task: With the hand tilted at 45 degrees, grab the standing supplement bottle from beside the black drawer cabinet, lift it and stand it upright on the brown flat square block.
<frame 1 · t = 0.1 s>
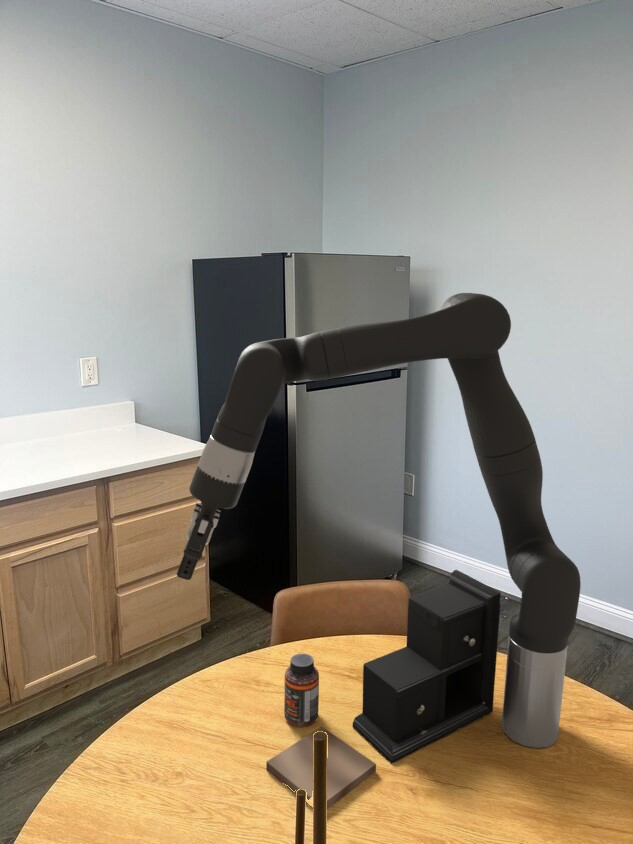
hand: (186, 565, 103), 31 cm above the table, tool tilted 20°, fingers open, 8 cm apart
supplement bottle: (301, 718, 116), on the table
black drawer cabinet: (423, 721, 116), on the table
brown flat square block: (321, 771, 104), on the table
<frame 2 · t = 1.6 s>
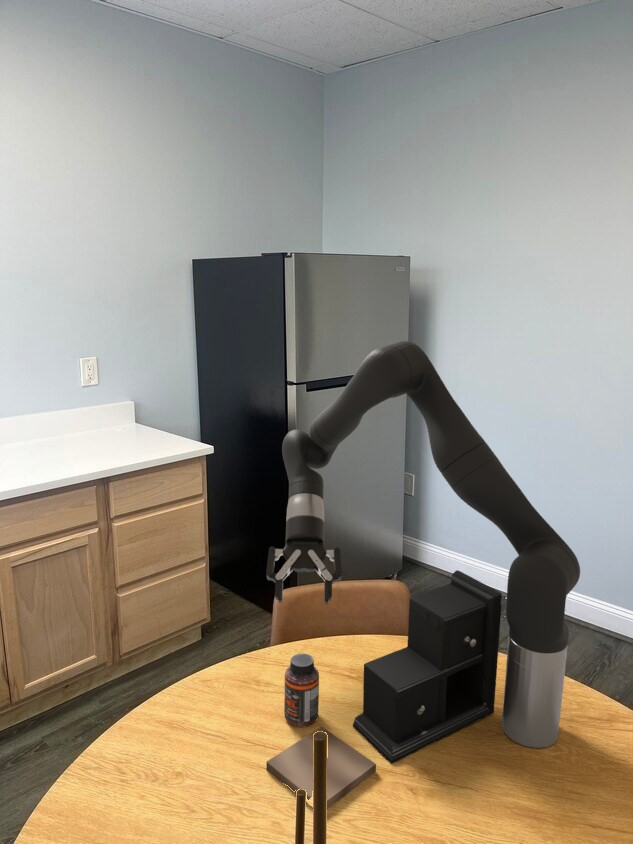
hand: (303, 602, 124), 16 cm above the table, tool tilted 45°, fingers open, 8 cm apart
nothing on the table moved.
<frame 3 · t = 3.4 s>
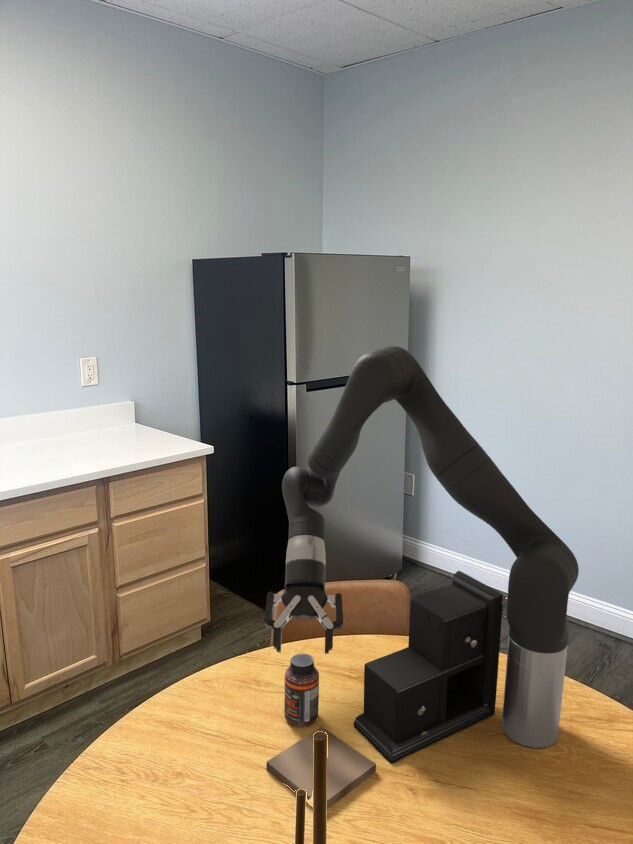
hand: (302, 652, 118), 10 cm above the table, tool tilted 45°, fingers open, 8 cm apart
nothing on the table moved.
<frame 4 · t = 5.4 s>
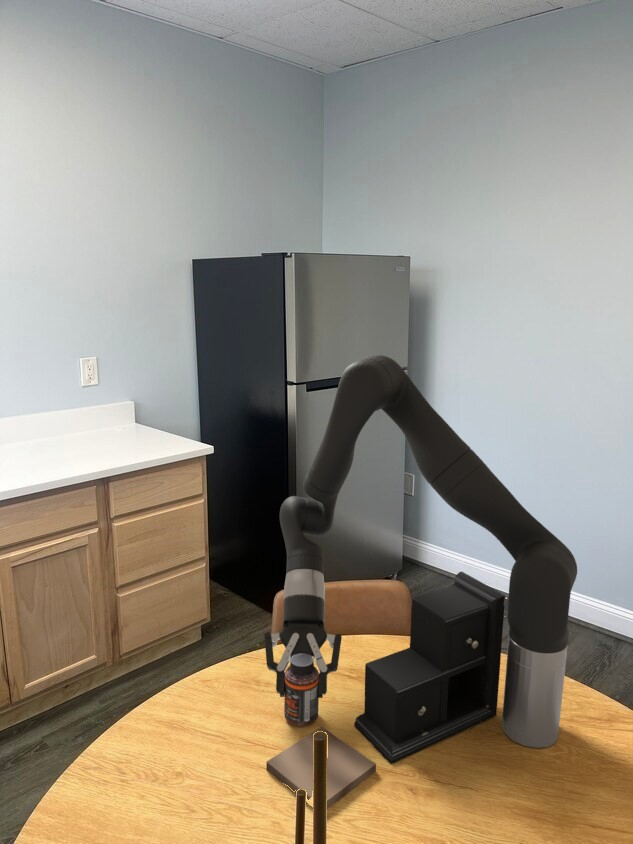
hand: (301, 696, 113), 5 cm above the table, tool tilted 45°, fingers closed on supplement bottle, 6 cm apart
supplement bottle: (301, 718, 116), on the table, touching gripper
everything else where it was.
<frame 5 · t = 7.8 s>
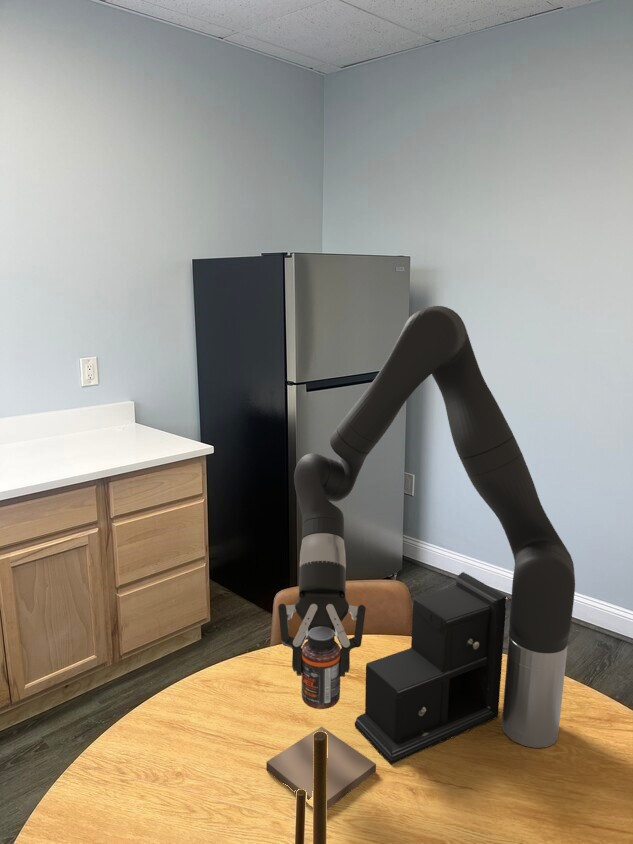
hand: (321, 674, 100), 17 cm above the table, tool tilted 45°, fingers closed on supplement bottle, 6 cm apart
supplement bottle: (320, 700, 103), point 11 cm above the table, touching gripper
everything else where it was.
when the fingers open (8 cm above the table, at t = 10.2 s): supplement bottle drops 1 cm, resting on brown flat square block.
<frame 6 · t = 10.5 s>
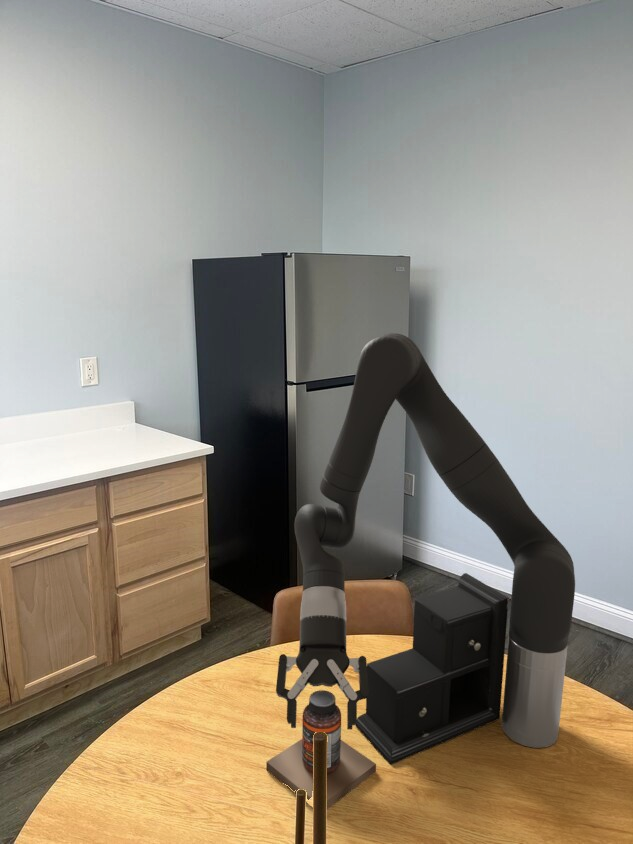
hand: (321, 728, 100), 9 cm above the table, tool tilted 45°, fingers open, 8 cm apart
supplement bottle: (321, 763, 103), point 1 cm above the table, touching brown flat square block
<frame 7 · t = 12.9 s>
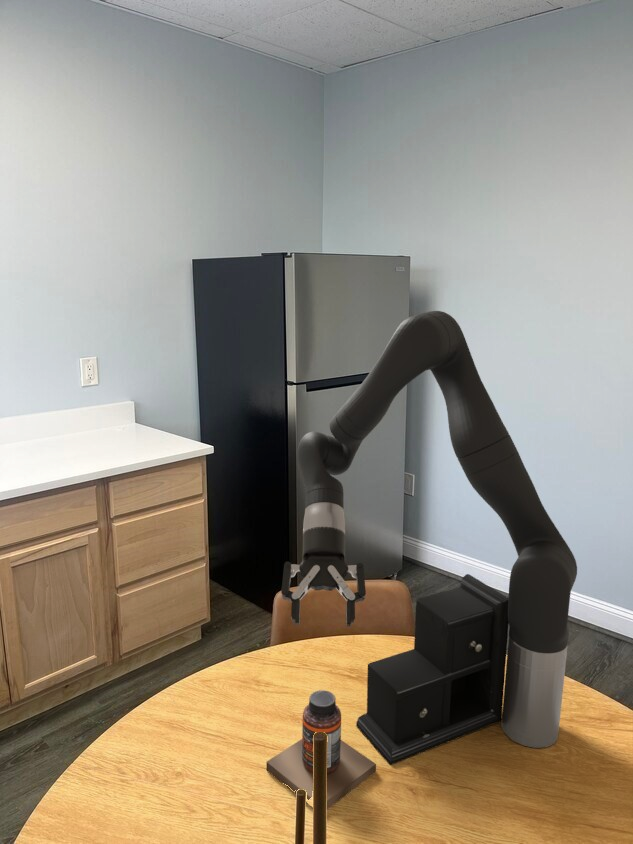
hand: (323, 624, 111), 19 cm above the table, tool tilted 45°, fingers open, 8 cm apart
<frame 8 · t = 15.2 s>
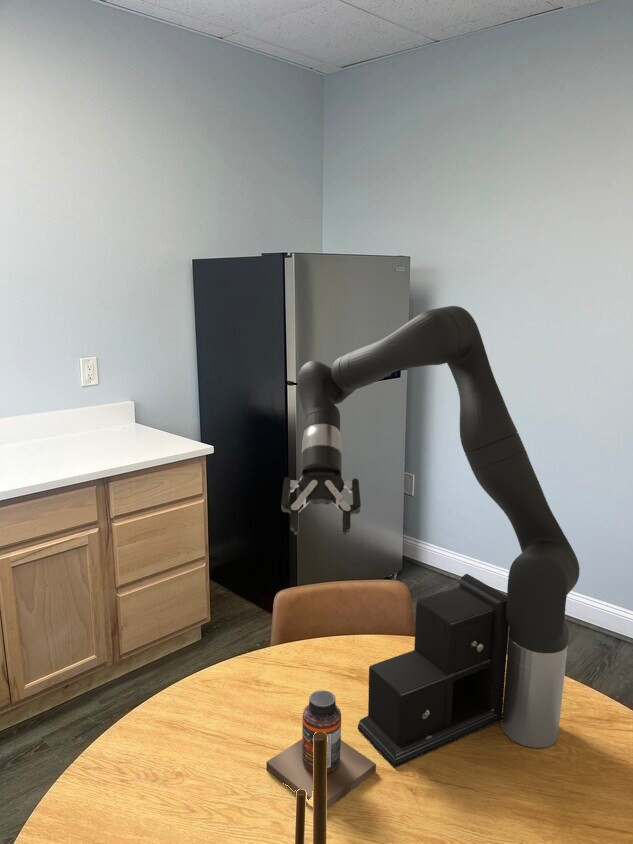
hand: (320, 533, 118), 31 cm above the table, tool tilted 45°, fingers open, 8 cm apart
at the end: supplement bottle inside the target area on the brown flat square block (0.1 cm from its centre), point 1.3 cm above the brown flat square block's base; supplement bottle tilted 0°; the gripper is holding nothing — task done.
